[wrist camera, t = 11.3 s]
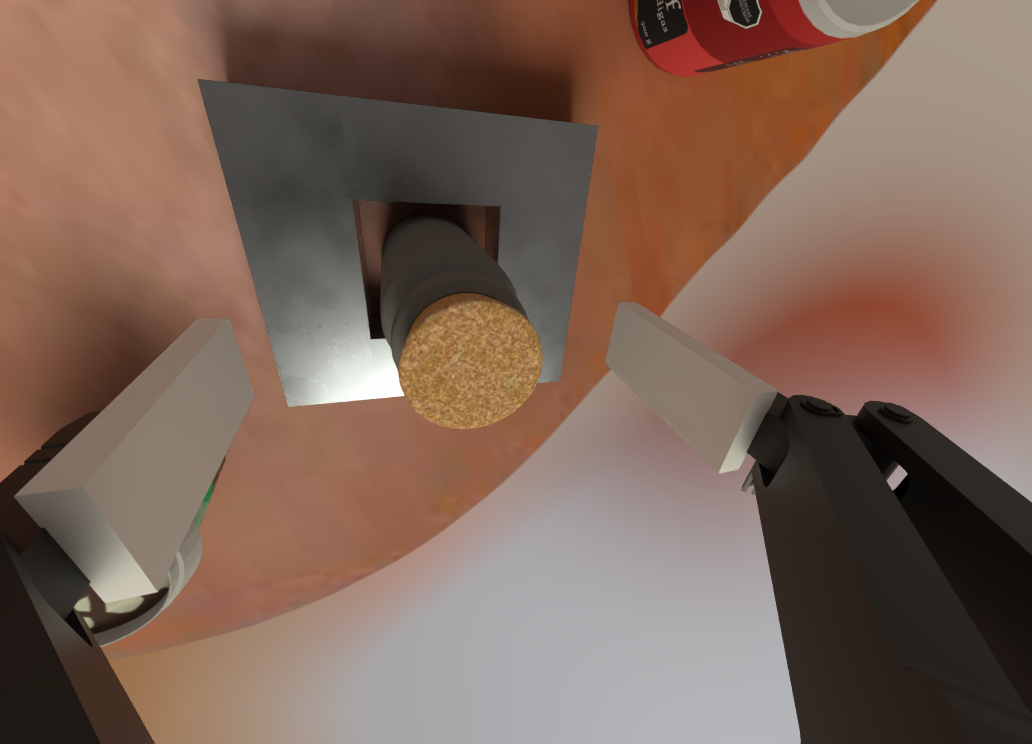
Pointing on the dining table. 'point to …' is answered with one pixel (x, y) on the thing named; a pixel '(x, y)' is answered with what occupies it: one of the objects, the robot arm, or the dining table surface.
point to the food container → (138, 611)
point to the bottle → (454, 325)
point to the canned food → (749, 28)
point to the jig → (397, 178)
